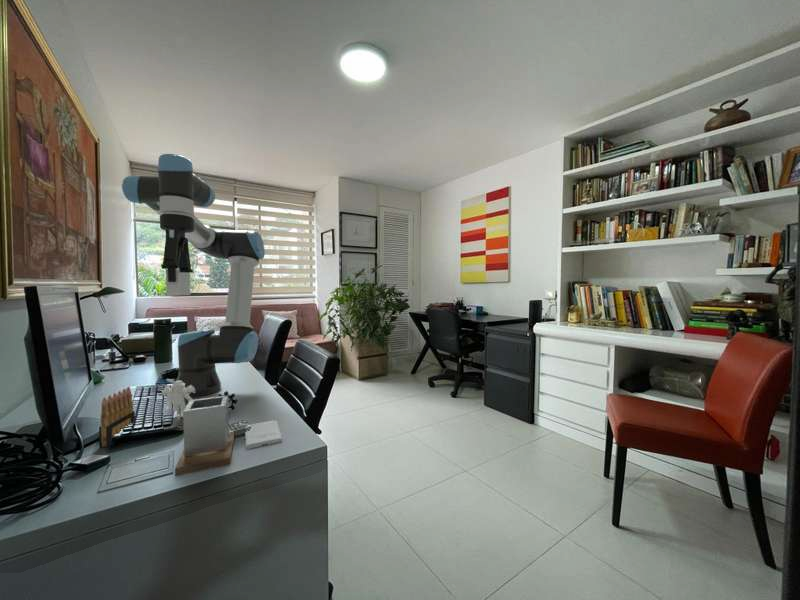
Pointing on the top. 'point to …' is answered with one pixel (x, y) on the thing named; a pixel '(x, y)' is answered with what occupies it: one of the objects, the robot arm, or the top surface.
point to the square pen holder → (206, 425)
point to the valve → (230, 400)
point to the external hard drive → (263, 434)
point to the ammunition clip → (115, 416)
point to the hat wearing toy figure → (177, 394)
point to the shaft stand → (205, 459)
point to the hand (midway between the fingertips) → (179, 295)
